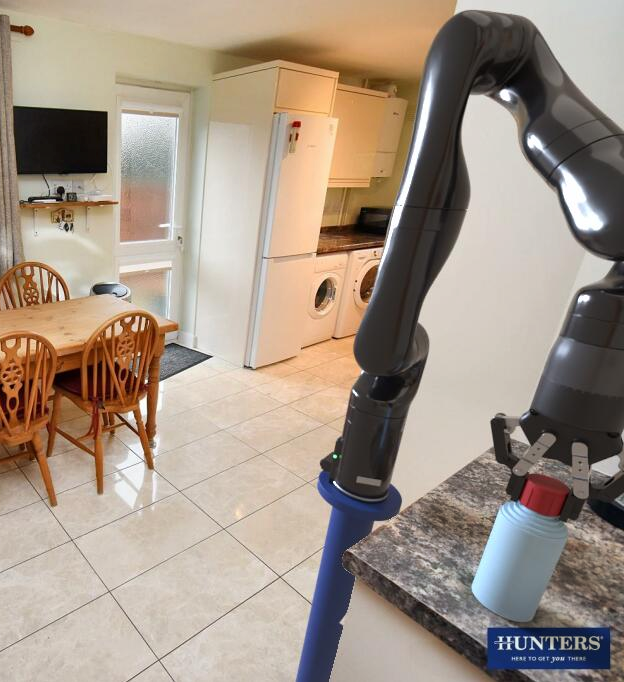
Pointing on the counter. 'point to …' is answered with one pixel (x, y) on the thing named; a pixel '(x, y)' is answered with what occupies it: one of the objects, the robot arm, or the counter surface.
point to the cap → (544, 494)
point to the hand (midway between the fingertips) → (538, 508)
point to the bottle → (518, 561)
